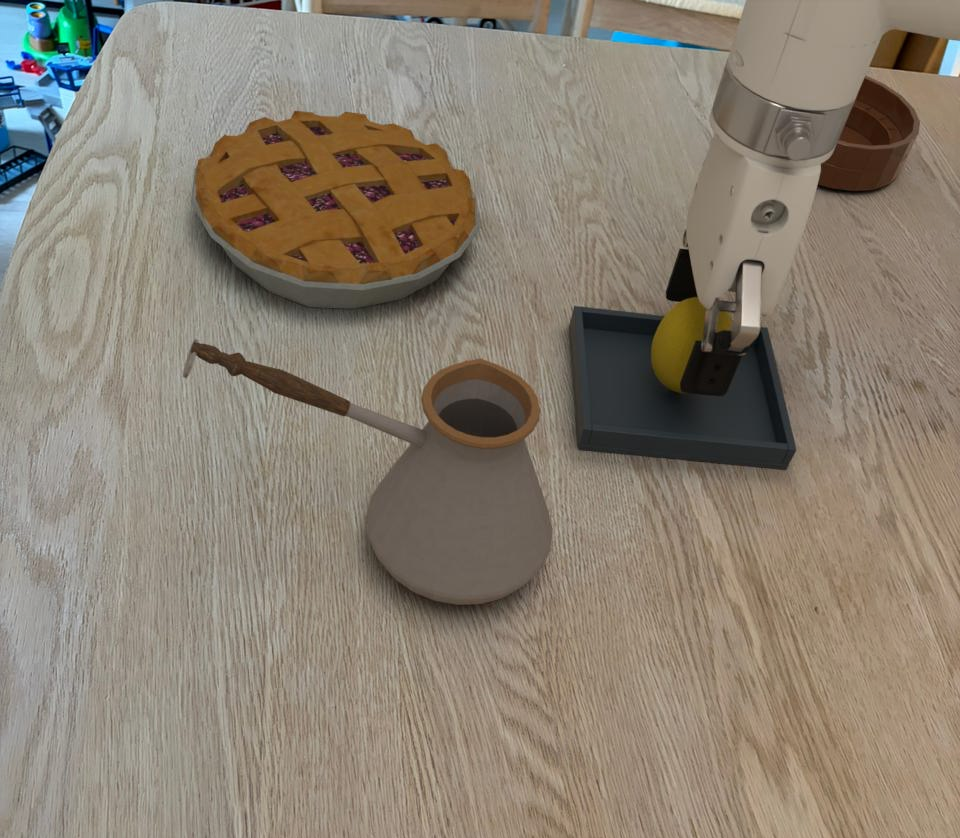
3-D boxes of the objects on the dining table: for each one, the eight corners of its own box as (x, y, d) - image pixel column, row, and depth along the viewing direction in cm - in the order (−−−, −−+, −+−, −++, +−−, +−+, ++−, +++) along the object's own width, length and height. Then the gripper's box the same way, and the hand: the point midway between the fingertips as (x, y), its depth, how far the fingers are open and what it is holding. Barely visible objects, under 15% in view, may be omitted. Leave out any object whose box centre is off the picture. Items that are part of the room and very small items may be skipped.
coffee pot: (540, 494, 71) (587, 310, 59) (548, 633, 65) (603, 459, 53) (216, 466, 69) (196, 270, 57) (190, 609, 62) (161, 421, 50)
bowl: (880, 120, 107) (900, 76, 103) (913, 203, 99) (936, 157, 95) (744, 102, 105) (759, 56, 102) (766, 184, 97) (783, 137, 94)
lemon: (630, 400, 77) (660, 310, 71) (649, 355, 80) (680, 265, 74) (703, 426, 77) (739, 337, 70) (719, 380, 80) (756, 291, 73)
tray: (759, 347, 83) (767, 327, 82) (786, 470, 76) (797, 450, 74) (568, 326, 82) (574, 305, 80) (577, 449, 74) (583, 428, 73)
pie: (527, 271, 85) (538, 216, 81) (289, 358, 76) (288, 300, 72) (375, 131, 94) (378, 75, 90) (144, 194, 84) (136, 134, 80)
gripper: (874, 203, 56) (763, 436, 70) (816, 41, 66) (728, 274, 80) (738, 186, 56) (652, 425, 70) (699, 25, 66) (631, 263, 79)
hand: (693, 344), depth 75 cm, fingers open, 9 cm apart
